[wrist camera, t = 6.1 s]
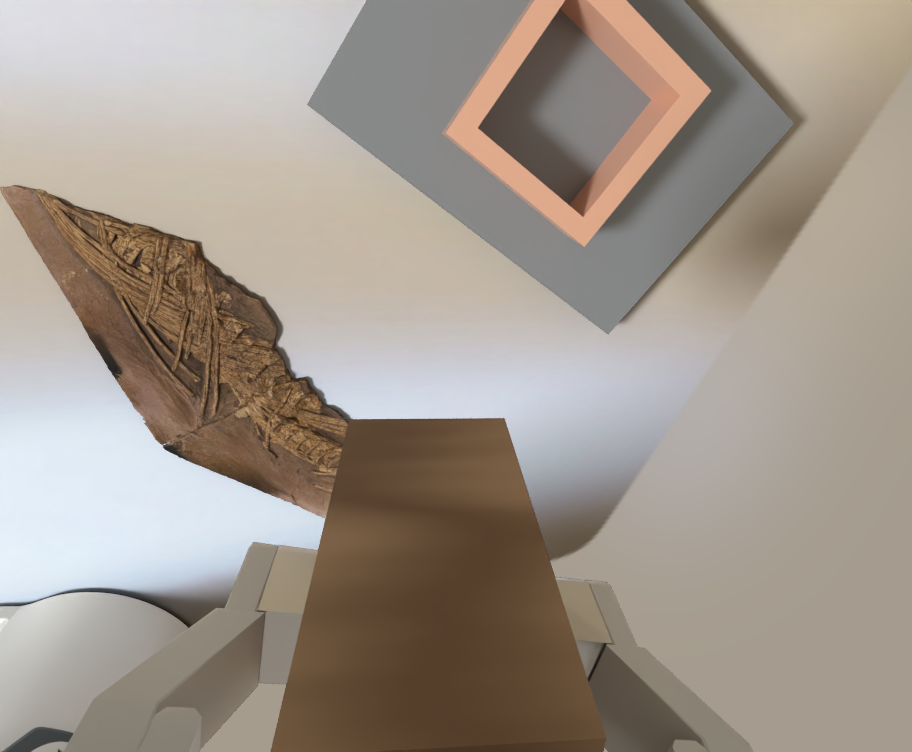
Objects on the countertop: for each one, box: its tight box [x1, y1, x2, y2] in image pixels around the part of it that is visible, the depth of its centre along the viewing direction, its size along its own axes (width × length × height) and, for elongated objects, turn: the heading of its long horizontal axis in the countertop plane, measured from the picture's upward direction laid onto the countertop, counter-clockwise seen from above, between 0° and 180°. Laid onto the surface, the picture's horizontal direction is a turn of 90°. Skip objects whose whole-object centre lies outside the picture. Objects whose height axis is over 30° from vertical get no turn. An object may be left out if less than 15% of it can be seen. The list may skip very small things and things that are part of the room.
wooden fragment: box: [0, 185, 348, 518], centre depth 31 cm, size 26×11×1 cm, turn 31°
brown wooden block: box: [271, 418, 606, 752], centre depth 11 cm, size 4×4×8 cm
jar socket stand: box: [307, 0, 794, 334], centre depth 25 cm, size 14×20×4 cm
